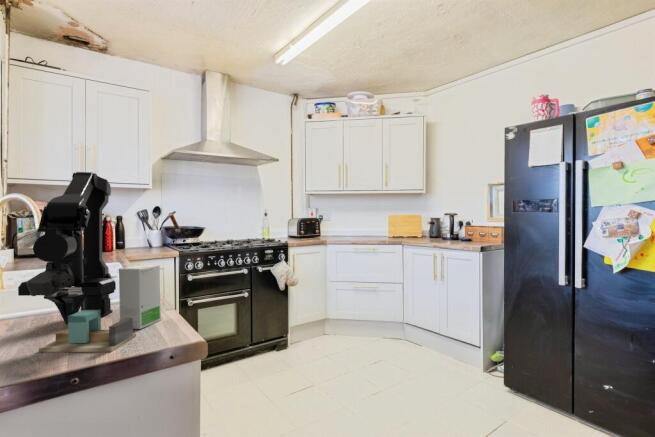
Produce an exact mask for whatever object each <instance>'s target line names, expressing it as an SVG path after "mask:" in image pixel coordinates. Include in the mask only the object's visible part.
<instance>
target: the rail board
mask: <svg viewBox="0 0 655 437" xmlns="http://www.w3.org/2000/svg"><path fill="white" fill-rule="evenodd" d="M136 337H137V333H136V332H134V329H133V317H130V318H125V319H123V320H121V321H120V320H119V321H118V322H115V323H112V324H111V325H110V326H108V329H101V330H89V342H87V343H69V340H68V329H63V330H61V331H58V332H56V333H55V340H54V341H53V340H52V342H49V343H47V344H45V345H42V346H41V347H39V348H38V353H44V352H45V353H53V352H55V353H63V352H65V353H66V352H67V353H68V352H70V353H72V352H73V353H74V352H75V353H77V352H78V353H81V352H82V353H85V352H86V353H91V352H93V353H94V352H95V353H97V352H98V353H99V352H101V353H102V352H105V353H107V352H109V353H112V352H114V351H116V349H119V348H120V347H121V346H123V345H125V344H127V343H128V342H130V341H131V340H132V339H133V340H134V338H136Z"/></svg>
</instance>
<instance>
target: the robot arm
mask: <svg viewBox="0 0 655 437" xmlns="http://www.w3.org/2000/svg"><path fill="white" fill-rule="evenodd" d="M71 178H72V179H71V180H70V182H69V184H68V186H66V187H67V188H66V189H65V190H64V192H63V194H62V195H59V196H55V197H53V198H52V199H50V200H49V201H48V202H47V204H46V206H44V207H43V211H42V213H41V218H40V221H39V225H38V227H37V231H38V233H44V234H43V235H40V236H39V237H38V238H37V239H36V240H35V242H34V244H33V246H32V250H33V253H34V256H35V257H36V258H37V259H39V260H41V261H43V262H46V264H45V270H44V271H42V272H40V273H38V274H36V275H34V276H33V277H32V278H30V279H28V280H27V281H23V282H21V283H20V284H19V285H18V287H17V290H18V292H17V293H18V297H19V296H20V297H21V296H24V297H25V296H28V297H29V296H31V297H36V296H43V299H44V300H48V301H50V302H52V303H54V305H55V306H56V308H57V309H58V311H59V314H60V315H61V318H62V319H63V322H64V324H65V325H67V326H68V316H70V315H72V314H75V313H77V312H80V311H82V310H101V318H102V317H104V316H106V315H108V314H110V313H113V309H112V306H111V298H110V295H111V294H114V293H115V291H116V290H117V286H116V283H117V282H116V281H115V280H114V279H113V276H111V273H109V272H110V271H109V267H108V266H107V264H106V263H105V261H104V260H103V210H104V209H105V207H106V206H107V204H108V203H109V198H110V196H111V194H112V188H111V184H110V183H109V181H108V179H106V178H104V177H101V176H98V174H97V173H94V172H92V171H91V172H90V171H89V172H88V171H87V172H86V171H76V172H73V173H72V177H71ZM82 232H83V233H82ZM79 310H80V311H79Z"/></svg>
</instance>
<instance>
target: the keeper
mask: <svg viewBox="0 0 655 437" xmlns="http://www.w3.org/2000/svg"><path fill="white" fill-rule="evenodd" d="M101 319H102V317H101V310H82V311H81V310H80V311H78V312H77V313H75V314H72V315H70V316H68V325H67V330H68V340H69V343H87V342H89V330H102V323H101V322H102V320H101Z"/></svg>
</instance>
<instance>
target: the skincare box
mask: <svg viewBox="0 0 655 437" xmlns="http://www.w3.org/2000/svg"><path fill="white" fill-rule="evenodd" d="M160 271H161V270H160V265H159V264H138V265H135V266H133V265H132V266H127V267H121V268H120V267H119V268H118V282H119V283H118V285H119V286H118V287H119V289H118V290H119V292H118V293H119V321H121V320H123V319H125V318H130V317H133V330H141V329H144V328H146V327H149V326H150V325H154V324H156V323H158V322H160V321H161V320H162V318H161V317H162V315H161V309H162V307H161V276H160V275H161V274H160Z"/></svg>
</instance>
